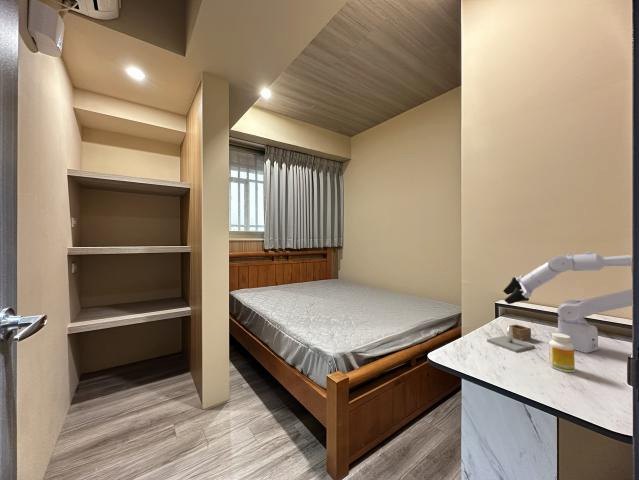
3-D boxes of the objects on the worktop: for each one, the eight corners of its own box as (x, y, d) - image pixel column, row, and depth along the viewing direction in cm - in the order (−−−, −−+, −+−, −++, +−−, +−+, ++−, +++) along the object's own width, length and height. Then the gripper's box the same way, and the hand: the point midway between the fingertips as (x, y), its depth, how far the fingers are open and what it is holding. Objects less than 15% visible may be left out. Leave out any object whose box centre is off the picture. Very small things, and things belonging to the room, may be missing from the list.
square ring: (531, 338, 97) (530, 328, 97) (522, 341, 95) (521, 330, 95) (516, 334, 101) (516, 324, 101) (507, 336, 100) (507, 326, 100)
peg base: (534, 347, 89) (534, 328, 89) (515, 352, 85) (515, 332, 85) (505, 337, 98) (504, 320, 98) (487, 341, 95) (486, 323, 95)
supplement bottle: (580, 373, 71) (579, 339, 71) (557, 372, 72) (557, 338, 72) (565, 364, 77) (564, 332, 77) (545, 363, 78) (544, 331, 78)
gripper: (525, 263, 104) (496, 282, 112) (530, 279, 93) (498, 299, 100) (540, 275, 103) (510, 293, 111) (548, 293, 91) (514, 312, 99)
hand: (505, 297), depth 105 cm, fingers open, 7 cm apart
